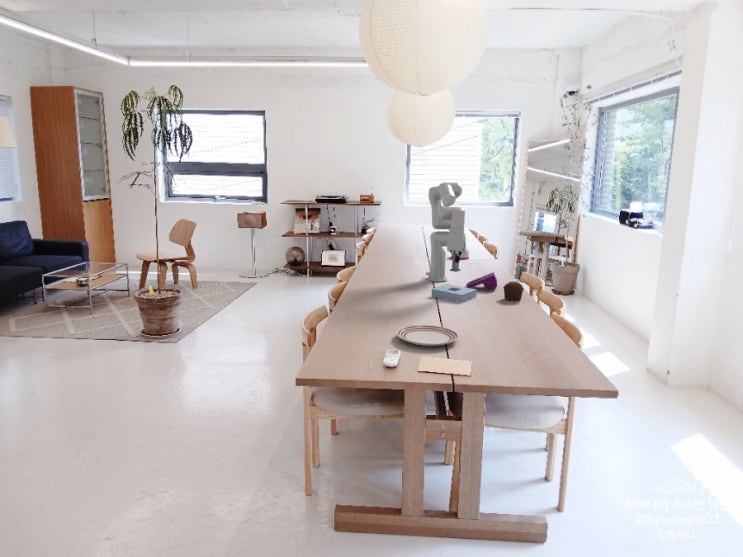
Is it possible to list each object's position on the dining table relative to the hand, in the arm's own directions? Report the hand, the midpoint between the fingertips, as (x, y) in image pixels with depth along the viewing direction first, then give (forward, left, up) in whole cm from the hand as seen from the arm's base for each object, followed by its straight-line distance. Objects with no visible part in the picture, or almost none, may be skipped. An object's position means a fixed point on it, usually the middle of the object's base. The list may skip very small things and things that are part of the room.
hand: (455, 262), depth 316 cm
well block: (+1, -3, -20) cm, 20 cm away
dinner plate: (+30, -75, -20) cm, 83 cm away
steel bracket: (0, 0, -5) cm, 5 cm away
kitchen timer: (-56, +103, -20) cm, 119 cm away
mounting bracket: (+3, +27, -20) cm, 34 cm away
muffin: (+29, +15, -20) cm, 39 cm away
